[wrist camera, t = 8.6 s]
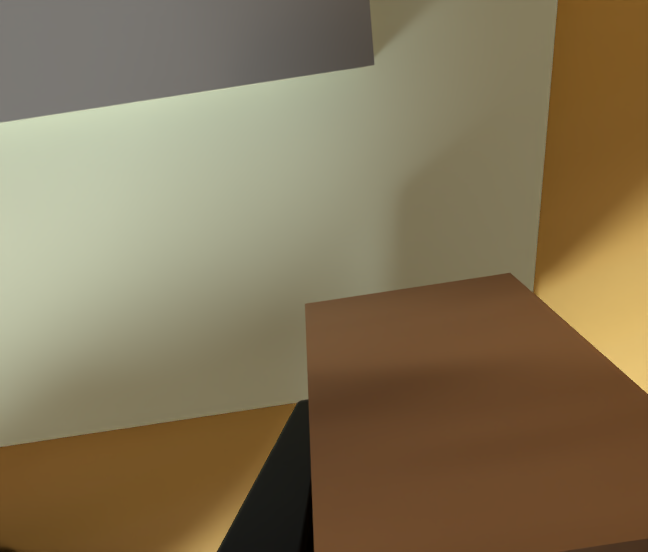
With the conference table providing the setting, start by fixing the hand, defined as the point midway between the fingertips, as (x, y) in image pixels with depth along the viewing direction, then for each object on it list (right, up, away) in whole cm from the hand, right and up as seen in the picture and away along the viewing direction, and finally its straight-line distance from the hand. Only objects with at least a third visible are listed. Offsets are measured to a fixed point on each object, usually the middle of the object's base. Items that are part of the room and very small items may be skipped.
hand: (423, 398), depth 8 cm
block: (0, 0, +1) cm, 1 cm away
